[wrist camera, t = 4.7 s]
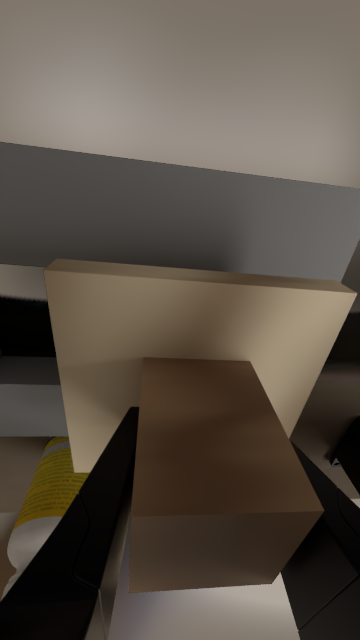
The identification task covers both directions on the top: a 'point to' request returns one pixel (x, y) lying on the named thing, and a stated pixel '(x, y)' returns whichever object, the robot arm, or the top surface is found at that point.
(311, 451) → the top surface
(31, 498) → the supplement bottle
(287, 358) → the lid
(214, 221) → the board
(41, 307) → the top surface
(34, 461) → the top surface
